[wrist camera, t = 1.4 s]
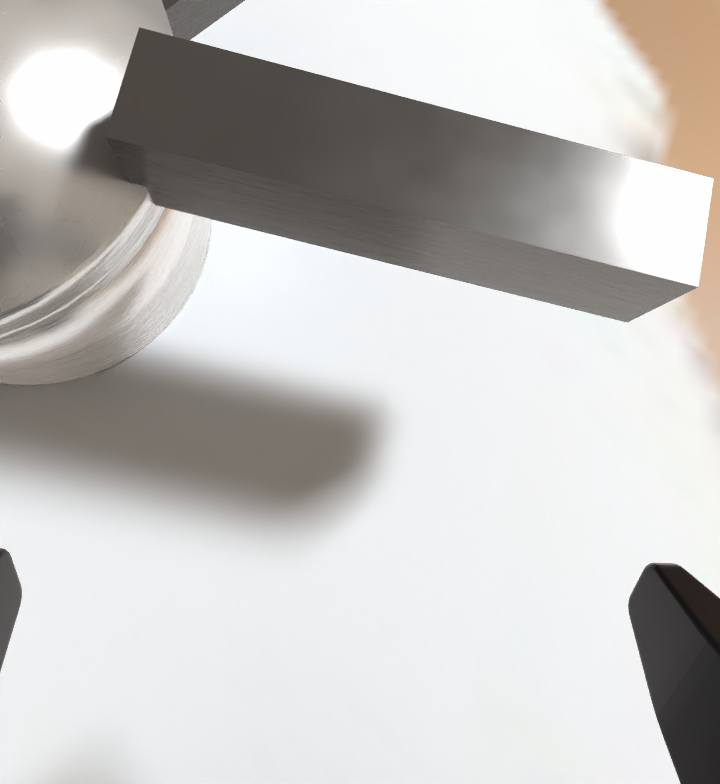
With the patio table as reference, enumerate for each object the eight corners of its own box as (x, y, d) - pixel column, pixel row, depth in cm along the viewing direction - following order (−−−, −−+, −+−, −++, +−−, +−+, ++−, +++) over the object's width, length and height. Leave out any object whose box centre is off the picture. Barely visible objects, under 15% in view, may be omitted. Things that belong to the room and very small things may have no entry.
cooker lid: (-454, 277, 14) (-666, 219, 11) (-244, -180, 17) (-372, -335, 13) (592, 517, 16) (666, 524, 13) (663, 69, 18) (739, -19, 15)
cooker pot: (-57, 518, 21) (-232, 535, 14) (-293, 242, 22) (-571, 129, 15) (416, 132, 25) (460, -4, 18) (203, -94, 25) (167, -311, 18)
